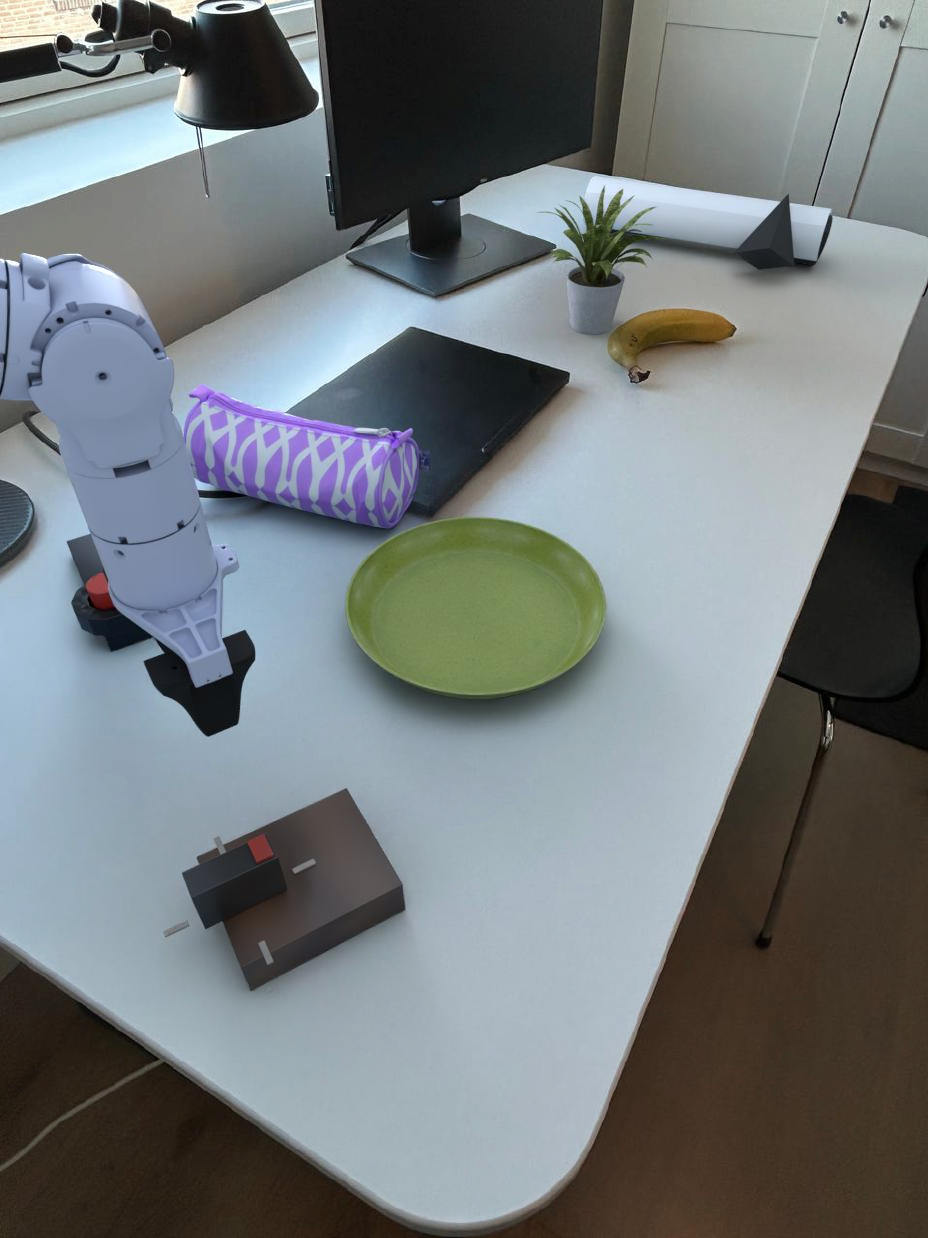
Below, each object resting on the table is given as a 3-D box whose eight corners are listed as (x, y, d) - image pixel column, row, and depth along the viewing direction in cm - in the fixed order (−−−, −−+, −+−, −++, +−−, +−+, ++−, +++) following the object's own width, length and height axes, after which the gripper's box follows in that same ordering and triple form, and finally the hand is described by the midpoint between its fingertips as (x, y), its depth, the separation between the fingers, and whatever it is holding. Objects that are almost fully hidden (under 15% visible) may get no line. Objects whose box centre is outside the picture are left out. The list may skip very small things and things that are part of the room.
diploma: (583, 251, 137) (562, 219, 124) (599, 190, 135) (580, 151, 123) (814, 290, 126) (817, 259, 113) (835, 224, 124) (840, 184, 112)
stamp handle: (205, 930, 50) (190, 896, 47) (195, 905, 51) (180, 870, 48) (287, 889, 52) (277, 854, 49) (276, 866, 53) (266, 830, 50)
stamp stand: (201, 1029, 49) (188, 1005, 47) (155, 897, 55) (141, 870, 52) (410, 917, 53) (407, 891, 51) (347, 807, 59) (342, 779, 57)
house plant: (561, 364, 104) (572, 221, 92) (509, 317, 113) (513, 181, 102) (663, 340, 108) (685, 200, 97) (605, 296, 117) (619, 164, 106)
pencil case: (433, 493, 85) (430, 406, 79) (398, 550, 79) (391, 461, 72) (232, 454, 90) (213, 370, 84) (183, 505, 84) (159, 418, 78)
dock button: (130, 603, 70) (124, 586, 68) (96, 614, 69) (90, 598, 67) (121, 584, 71) (115, 567, 70) (89, 595, 70) (82, 578, 69)
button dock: (209, 618, 73) (199, 587, 70) (94, 660, 69) (80, 628, 67) (160, 527, 82) (150, 496, 79) (56, 560, 78) (43, 529, 76)
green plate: (312, 696, 66) (307, 667, 64) (390, 531, 81) (387, 502, 79) (585, 743, 63) (589, 714, 61) (615, 562, 78) (619, 533, 75)
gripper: (268, 561, 42) (305, 738, 52) (177, 425, 52) (223, 596, 61) (122, 613, 40) (189, 789, 49) (53, 460, 49) (121, 633, 58)
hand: (200, 686), depth 55 cm, fingers open, 7 cm apart
